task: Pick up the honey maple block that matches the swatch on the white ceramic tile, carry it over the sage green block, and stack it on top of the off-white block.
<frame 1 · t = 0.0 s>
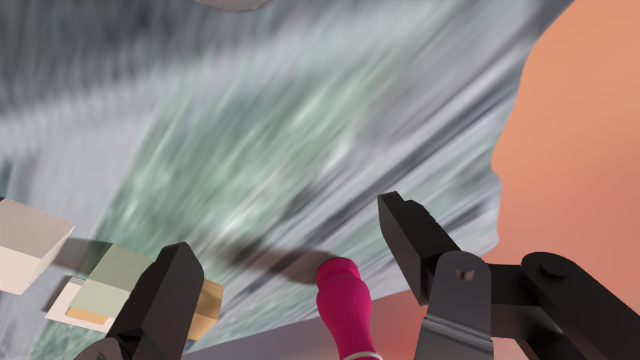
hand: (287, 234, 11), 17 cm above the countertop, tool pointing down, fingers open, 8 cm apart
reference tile: (95, 304, 35), on the countertop
pepper mill: (336, 271, 39), on the countertop
maple block: (198, 290, 36), on the countertop
base block: (33, 229, 28), on the countertop
sage block: (126, 263, 32), on the countertop
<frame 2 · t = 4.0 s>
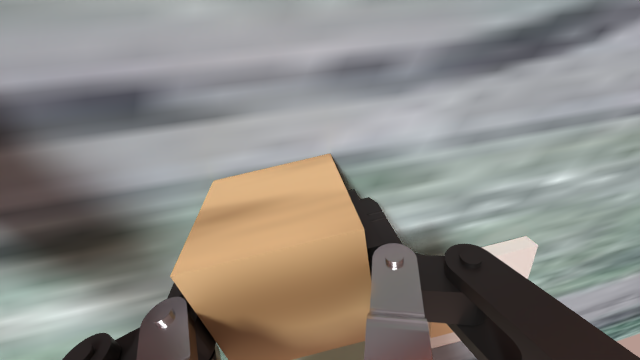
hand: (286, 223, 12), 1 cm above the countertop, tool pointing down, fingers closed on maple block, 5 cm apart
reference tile: (456, 295, 17), on the countertop
maple block: (287, 214, 12), on the countertop, touching gripper
sage block: (322, 327, 17), on the countertop
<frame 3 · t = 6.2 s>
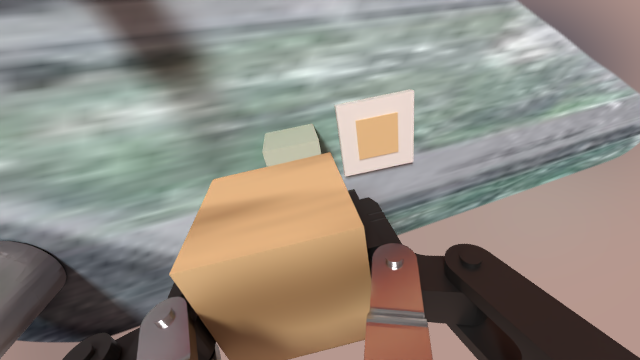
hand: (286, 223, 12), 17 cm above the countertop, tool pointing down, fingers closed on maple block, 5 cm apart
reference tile: (375, 134, 29), on the countertop
maple block: (286, 212, 12), point 16 cm above the countertop, touching gripper
sage block: (294, 150, 28), on the countertop
when the fingers open (7 cm above the countertop, at t = 8.7 s): maple block drops 2 cm, resting on base block.
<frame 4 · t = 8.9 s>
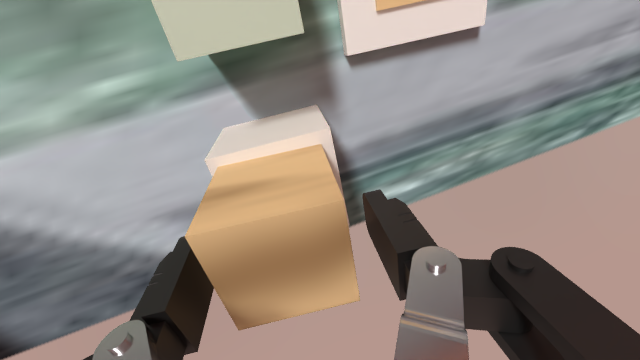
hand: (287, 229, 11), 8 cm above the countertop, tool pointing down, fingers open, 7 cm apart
maple block: (282, 198, 14), point 5 cm above the countertop, touching base block
base block: (283, 157, 18), on the countertop, touching maple block
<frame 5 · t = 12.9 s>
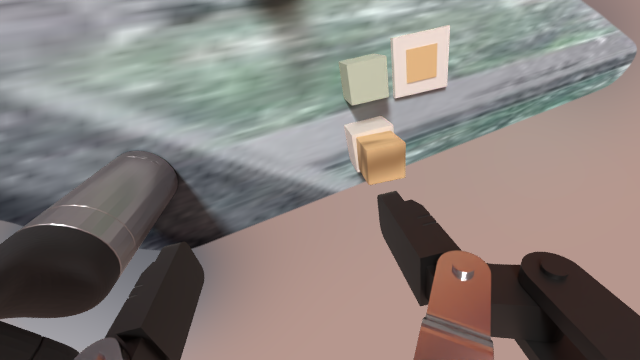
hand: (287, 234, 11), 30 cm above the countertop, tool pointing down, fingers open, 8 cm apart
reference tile: (418, 63, 38), on the countertop
maple block: (374, 150, 38), point 5 cm above the countertop, touching base block
base block: (364, 137, 42), on the countertop, touching maple block
sage block: (358, 76, 37), on the countertop
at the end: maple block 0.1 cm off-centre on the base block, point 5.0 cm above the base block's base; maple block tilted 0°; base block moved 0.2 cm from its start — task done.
